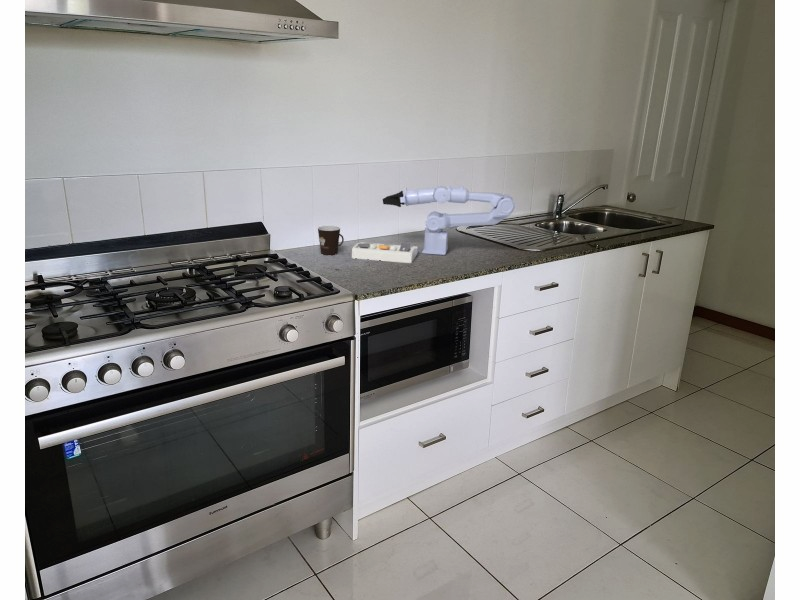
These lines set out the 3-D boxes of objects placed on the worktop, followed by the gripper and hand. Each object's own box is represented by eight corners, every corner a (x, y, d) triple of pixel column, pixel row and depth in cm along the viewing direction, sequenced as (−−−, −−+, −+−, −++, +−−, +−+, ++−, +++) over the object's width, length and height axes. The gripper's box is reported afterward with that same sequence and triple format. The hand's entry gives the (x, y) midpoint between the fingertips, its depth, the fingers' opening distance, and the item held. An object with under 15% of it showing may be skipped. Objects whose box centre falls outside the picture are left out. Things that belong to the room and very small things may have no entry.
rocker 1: (369, 248, 224) (369, 243, 224) (365, 248, 218) (366, 244, 218) (361, 247, 224) (361, 243, 224) (357, 247, 219) (357, 243, 218)
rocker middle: (389, 249, 223) (389, 245, 222) (386, 250, 217) (386, 245, 217) (381, 248, 223) (381, 244, 223) (378, 249, 217) (378, 245, 217)
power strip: (417, 253, 228) (417, 244, 227) (411, 263, 215) (411, 252, 214) (361, 249, 232) (361, 239, 231) (351, 258, 219) (351, 248, 218)
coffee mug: (315, 251, 227) (315, 226, 223) (336, 249, 230) (336, 225, 227) (323, 259, 217) (323, 233, 213) (345, 257, 220) (345, 231, 217)
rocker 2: (410, 247, 221) (410, 243, 220) (407, 254, 216) (407, 250, 215) (402, 247, 222) (402, 243, 221) (399, 254, 217) (398, 250, 216)
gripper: (419, 185, 231) (386, 188, 233) (415, 187, 217) (380, 191, 219) (421, 202, 233) (388, 206, 235) (417, 206, 219) (382, 210, 221)
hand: (384, 200), depth 227 cm, fingers open, 7 cm apart
